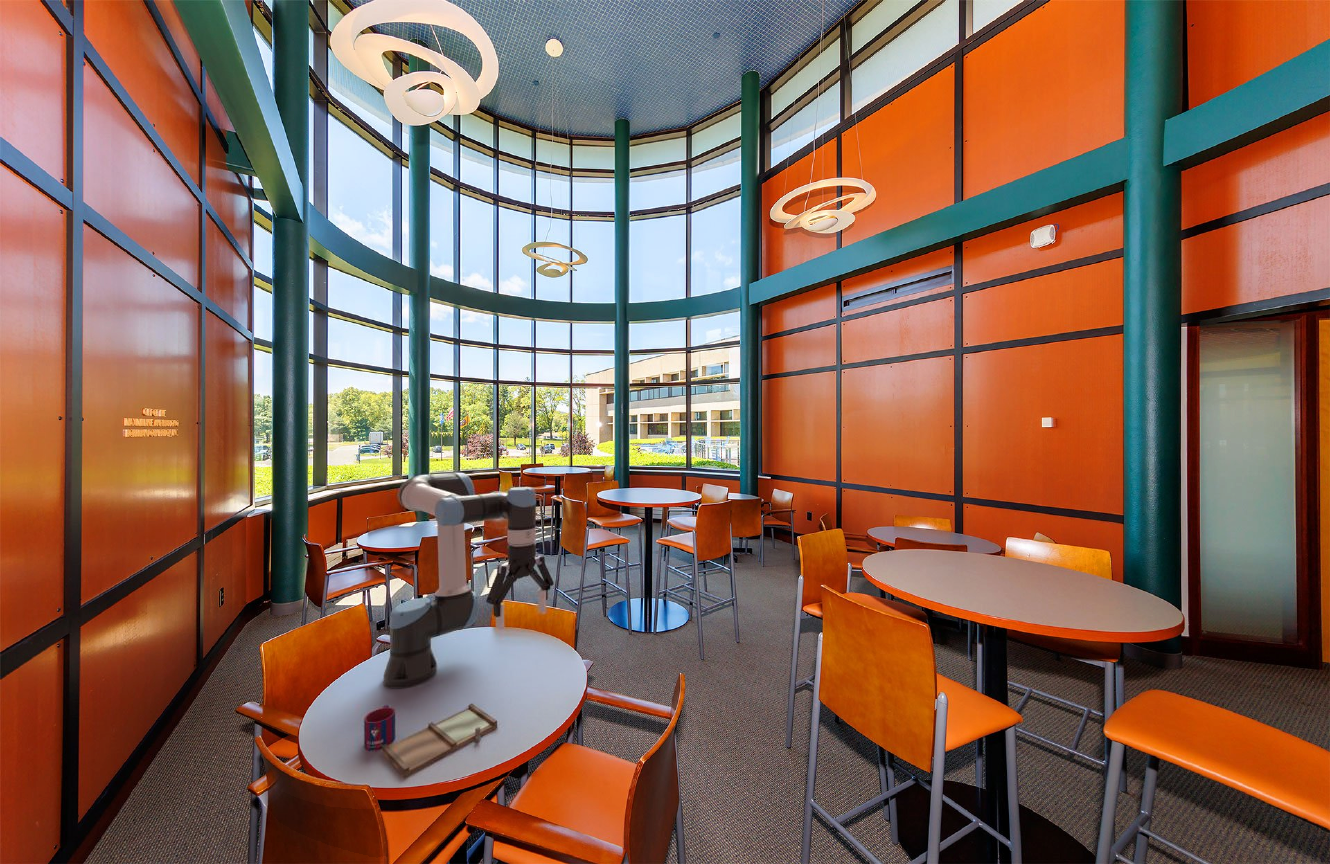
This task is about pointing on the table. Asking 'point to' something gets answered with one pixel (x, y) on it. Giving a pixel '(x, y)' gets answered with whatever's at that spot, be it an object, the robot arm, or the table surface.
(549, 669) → the table surface
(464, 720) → the brown divided flat frame
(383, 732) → the mug
